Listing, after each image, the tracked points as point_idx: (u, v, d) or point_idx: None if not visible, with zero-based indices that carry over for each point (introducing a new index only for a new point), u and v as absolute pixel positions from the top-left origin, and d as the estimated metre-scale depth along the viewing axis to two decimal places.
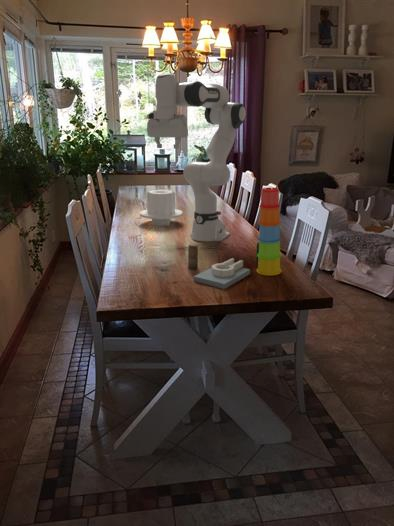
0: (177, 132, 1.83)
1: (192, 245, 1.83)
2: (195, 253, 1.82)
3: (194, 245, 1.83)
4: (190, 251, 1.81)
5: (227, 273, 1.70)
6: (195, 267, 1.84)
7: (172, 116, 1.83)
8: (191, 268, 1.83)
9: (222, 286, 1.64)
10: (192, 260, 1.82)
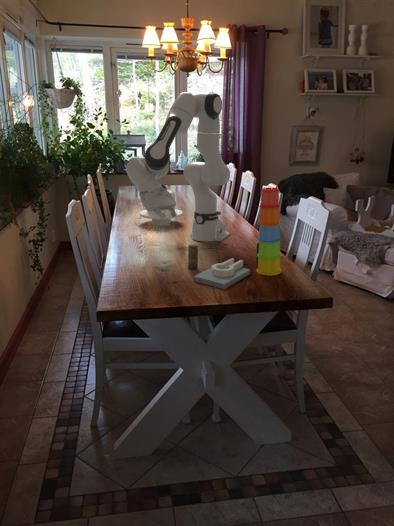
0: None
1: (192, 245, 1.83)
2: (195, 253, 1.82)
3: (194, 245, 1.83)
4: (190, 251, 1.81)
5: (227, 273, 1.70)
6: (195, 267, 1.84)
7: None
8: (191, 268, 1.83)
9: (222, 286, 1.64)
10: (192, 260, 1.82)
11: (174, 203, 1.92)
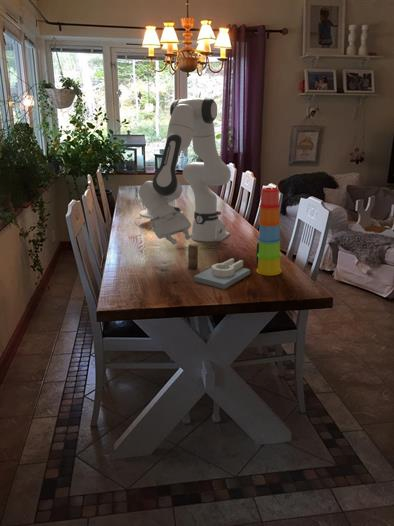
0: None
1: (192, 245, 1.83)
2: (195, 253, 1.82)
3: (194, 245, 1.83)
4: (190, 251, 1.81)
5: (227, 273, 1.70)
6: (195, 267, 1.84)
7: None
8: (191, 268, 1.83)
9: (222, 286, 1.64)
10: (192, 260, 1.82)
11: (188, 225, 1.90)
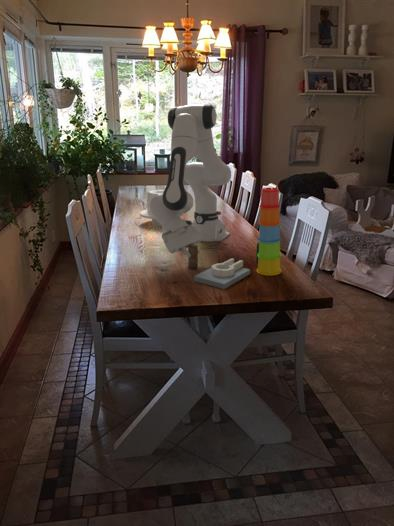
0: None
1: (192, 245, 1.83)
2: (195, 253, 1.82)
3: (194, 245, 1.83)
4: (190, 251, 1.81)
5: (227, 273, 1.70)
6: (195, 267, 1.84)
7: None
8: (191, 268, 1.83)
9: (222, 286, 1.64)
10: (192, 260, 1.82)
11: (200, 238, 1.89)
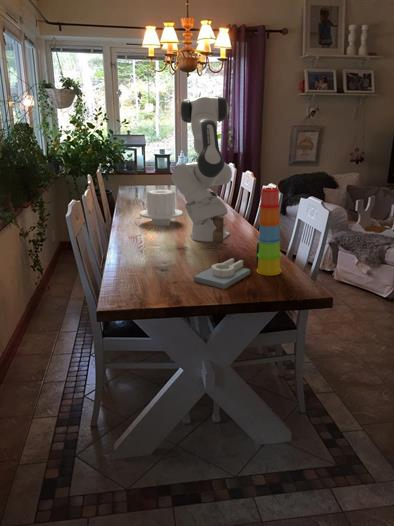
0: None
1: (217, 217, 1.69)
2: (221, 226, 1.68)
3: (220, 217, 1.69)
4: (215, 223, 1.68)
5: (227, 273, 1.70)
6: (220, 241, 1.70)
7: None
8: (216, 242, 1.70)
9: (222, 286, 1.64)
10: (217, 233, 1.68)
11: (225, 211, 1.75)
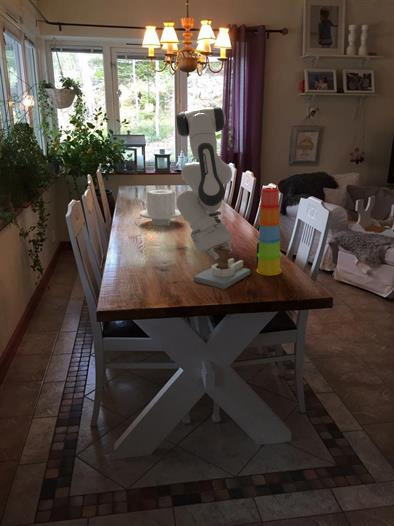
0: None
1: (222, 247, 1.72)
2: (226, 256, 1.71)
3: (225, 247, 1.72)
4: (220, 254, 1.70)
5: (227, 273, 1.70)
6: None
7: None
8: None
9: (222, 286, 1.64)
10: (222, 264, 1.71)
11: (229, 237, 1.78)
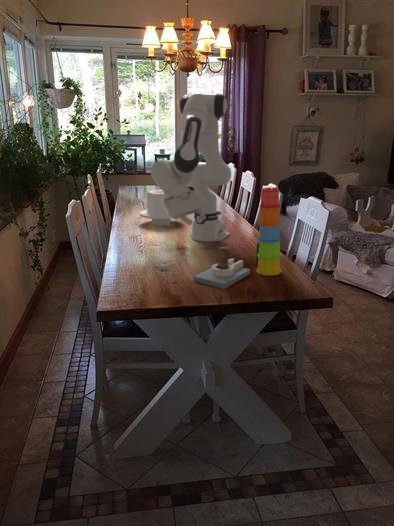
0: None
1: (222, 247, 1.72)
2: (226, 256, 1.71)
3: (225, 247, 1.72)
4: (220, 254, 1.70)
5: (227, 273, 1.70)
6: None
7: None
8: None
9: (222, 286, 1.64)
10: (222, 264, 1.71)
11: (203, 205, 1.83)
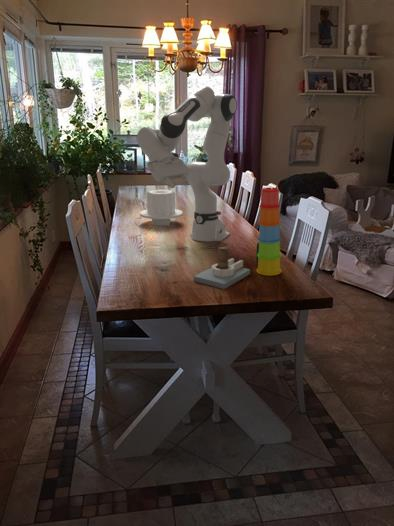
0: None
1: (222, 247, 1.72)
2: (226, 256, 1.71)
3: (225, 247, 1.72)
4: (220, 254, 1.70)
5: (227, 273, 1.70)
6: None
7: None
8: None
9: (222, 286, 1.64)
10: (222, 264, 1.71)
11: (187, 171, 1.89)
